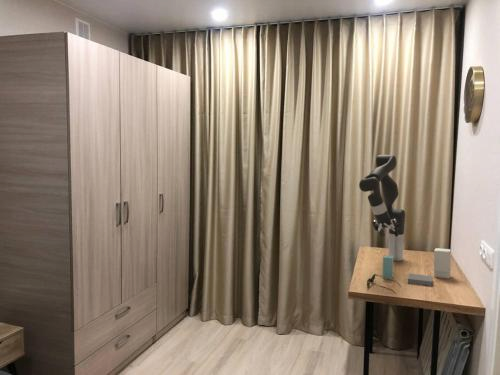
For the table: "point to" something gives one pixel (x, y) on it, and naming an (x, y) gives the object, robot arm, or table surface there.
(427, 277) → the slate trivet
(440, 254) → the skincare box
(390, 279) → the sunglasses
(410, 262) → the table surface
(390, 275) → the teal block
